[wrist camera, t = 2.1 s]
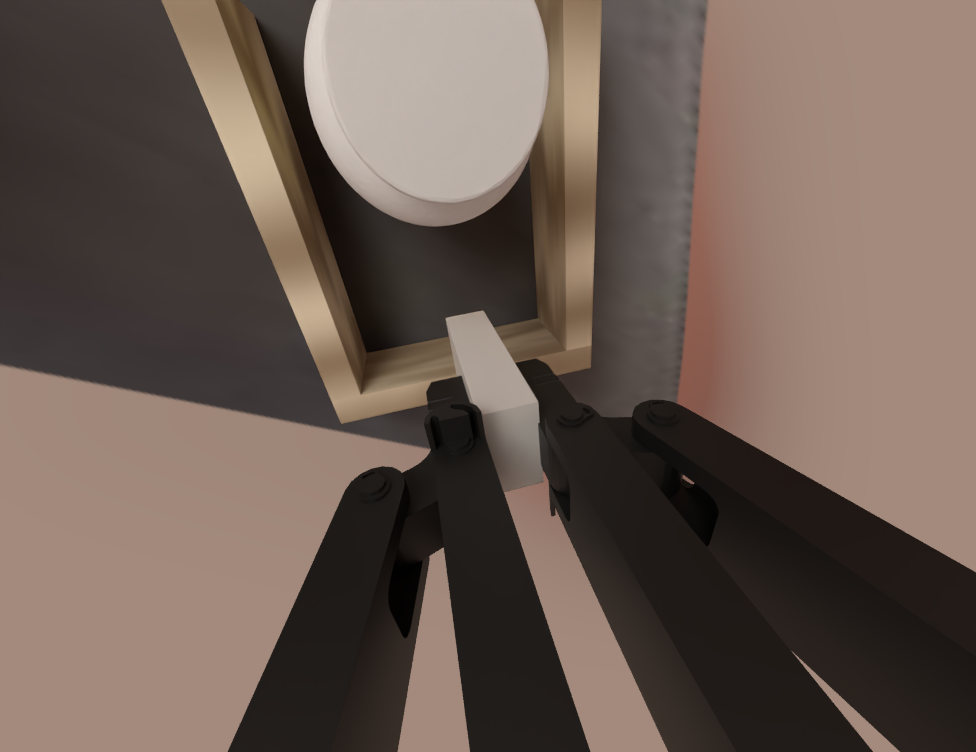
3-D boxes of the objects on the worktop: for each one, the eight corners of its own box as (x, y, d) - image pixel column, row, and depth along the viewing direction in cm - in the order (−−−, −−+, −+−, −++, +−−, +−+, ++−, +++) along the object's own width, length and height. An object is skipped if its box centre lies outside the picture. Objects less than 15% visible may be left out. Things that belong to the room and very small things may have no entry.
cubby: (215, 19, 15) (146, -35, 11) (551, -12, 17) (604, -69, 13) (350, 377, 24) (341, 423, 20) (559, 333, 26) (590, 367, 22)
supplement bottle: (503, 91, 18) (657, -4, 8) (451, 221, 21) (512, 289, 10) (368, 2, 16) (312, -333, 5) (328, 162, 18) (232, 169, 8)
